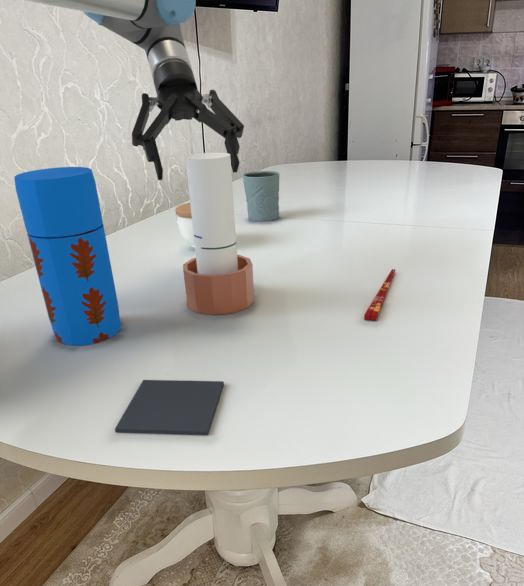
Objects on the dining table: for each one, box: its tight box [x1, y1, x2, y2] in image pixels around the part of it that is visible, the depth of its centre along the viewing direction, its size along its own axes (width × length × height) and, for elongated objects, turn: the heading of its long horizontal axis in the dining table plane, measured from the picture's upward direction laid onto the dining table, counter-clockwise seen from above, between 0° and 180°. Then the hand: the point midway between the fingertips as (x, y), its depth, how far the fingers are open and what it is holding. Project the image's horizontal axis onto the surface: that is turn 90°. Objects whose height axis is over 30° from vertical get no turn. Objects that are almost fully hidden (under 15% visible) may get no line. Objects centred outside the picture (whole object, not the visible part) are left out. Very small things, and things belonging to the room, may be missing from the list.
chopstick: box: [363, 268, 396, 322], centre depth 95 cm, size 2×24×1 cm, turn 159°
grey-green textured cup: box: [242, 170, 280, 223], centre depth 145 cm, size 10×10×12 cm
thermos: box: [13, 166, 122, 347], centre depth 80 cm, size 11×11×25 cm
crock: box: [182, 254, 255, 316], centre depth 93 cm, size 12×12×7 cm
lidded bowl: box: [174, 202, 195, 249], centre depth 125 cm, size 13×13×11 cm
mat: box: [114, 379, 225, 436], centre depth 65 cm, size 11×11×1 cm
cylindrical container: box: [185, 152, 238, 275], centre depth 89 cm, size 7×7×25 cm
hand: (199, 171), depth 92 cm, fingers open, 13 cm apart
